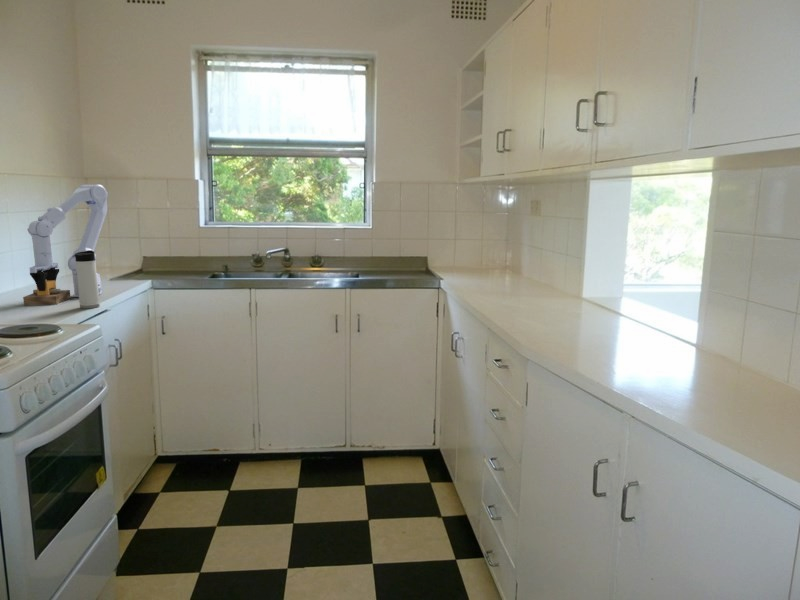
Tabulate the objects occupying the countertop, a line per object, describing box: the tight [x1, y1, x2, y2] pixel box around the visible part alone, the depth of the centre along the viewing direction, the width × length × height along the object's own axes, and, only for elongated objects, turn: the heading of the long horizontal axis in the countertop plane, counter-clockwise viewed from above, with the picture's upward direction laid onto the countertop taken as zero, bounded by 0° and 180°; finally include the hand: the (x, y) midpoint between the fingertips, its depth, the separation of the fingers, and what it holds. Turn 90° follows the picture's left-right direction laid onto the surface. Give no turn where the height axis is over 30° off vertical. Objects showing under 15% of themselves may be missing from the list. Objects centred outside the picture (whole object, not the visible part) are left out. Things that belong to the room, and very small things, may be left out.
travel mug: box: [75, 250, 101, 310], centre depth 216 cm, size 6×7×20 cm
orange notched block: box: [36, 280, 57, 295], centre depth 228 cm, size 4×5×6 cm
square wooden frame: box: [22, 288, 72, 306], centre depth 229 cm, size 11×14×5 cm
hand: (46, 289), depth 228 cm, fingers closed on orange notched block, 5 cm apart
